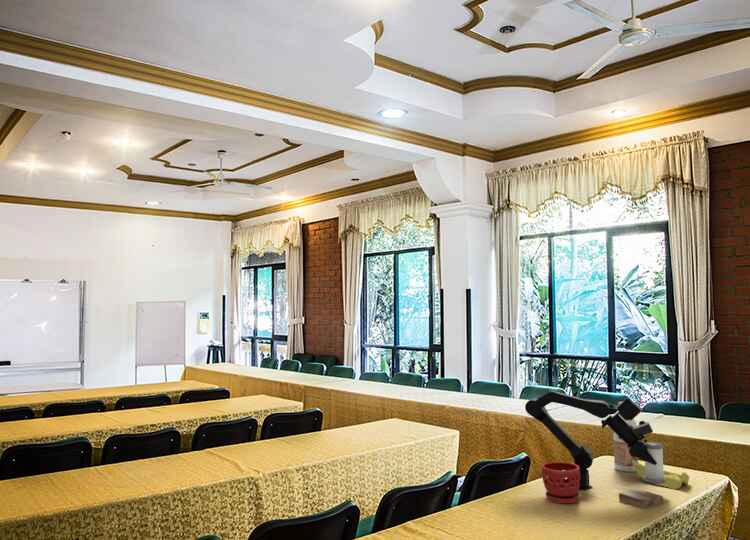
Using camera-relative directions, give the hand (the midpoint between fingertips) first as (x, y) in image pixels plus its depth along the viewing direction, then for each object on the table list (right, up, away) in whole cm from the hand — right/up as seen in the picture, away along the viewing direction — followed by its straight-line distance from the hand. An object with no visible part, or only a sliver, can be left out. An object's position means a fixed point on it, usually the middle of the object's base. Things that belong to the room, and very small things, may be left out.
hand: (655, 462), depth 214 cm
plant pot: (-36, -12, -5) cm, 38 cm away
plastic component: (+10, -14, +16) cm, 23 cm away
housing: (0, -7, 0) cm, 7 cm away
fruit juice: (+4, -15, +35) cm, 38 cm away
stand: (-9, -11, -8) cm, 16 cm away
